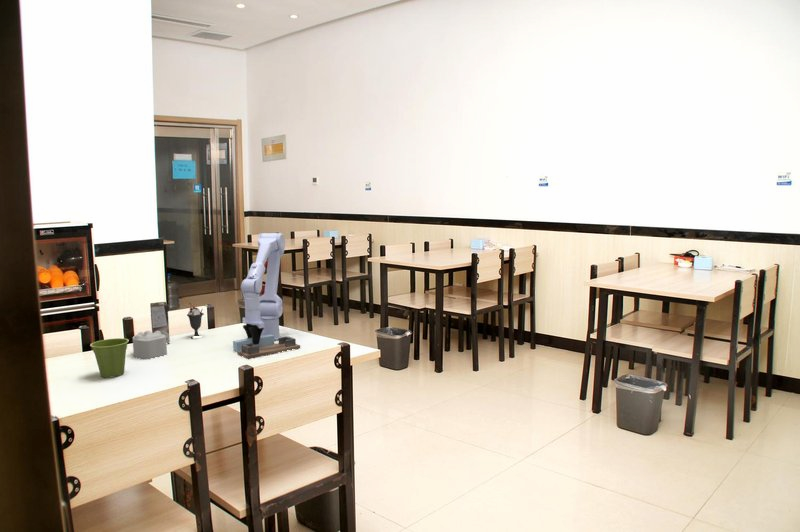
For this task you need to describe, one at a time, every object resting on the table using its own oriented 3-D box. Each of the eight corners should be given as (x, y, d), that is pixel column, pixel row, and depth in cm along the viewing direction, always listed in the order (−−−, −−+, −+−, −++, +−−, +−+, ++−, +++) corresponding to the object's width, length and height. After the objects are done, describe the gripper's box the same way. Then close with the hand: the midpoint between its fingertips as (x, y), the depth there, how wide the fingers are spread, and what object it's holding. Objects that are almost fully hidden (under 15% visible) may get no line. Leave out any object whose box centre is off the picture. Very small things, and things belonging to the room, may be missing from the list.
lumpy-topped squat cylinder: (144, 360, 222) (142, 337, 221) (127, 354, 231) (125, 332, 230) (170, 354, 230) (169, 332, 229) (153, 349, 239) (152, 327, 238)
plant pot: (120, 367, 214) (118, 336, 212) (137, 373, 206) (135, 341, 205) (86, 375, 204) (83, 343, 203) (102, 382, 197) (100, 348, 196)
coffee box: (170, 344, 246) (168, 305, 244) (153, 345, 244) (150, 306, 242) (168, 339, 254) (166, 301, 252) (152, 340, 252) (149, 302, 250)
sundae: (184, 338, 255) (182, 303, 253) (196, 335, 261) (194, 300, 259) (196, 340, 252) (194, 304, 250) (208, 336, 258) (206, 301, 256)
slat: (233, 351, 234) (232, 341, 233) (270, 343, 244) (270, 334, 244) (236, 352, 232) (236, 342, 231) (274, 345, 242) (274, 335, 241)
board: (237, 354, 229) (236, 344, 229) (288, 344, 243) (288, 335, 243) (248, 359, 222) (247, 349, 222) (300, 348, 236) (300, 339, 236)
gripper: (234, 307, 239) (236, 341, 240) (251, 313, 228) (253, 348, 229) (251, 305, 243) (252, 338, 245) (268, 310, 232) (270, 345, 234)
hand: (254, 343), depth 238 cm, fingers closed on slat, 3 cm apart
